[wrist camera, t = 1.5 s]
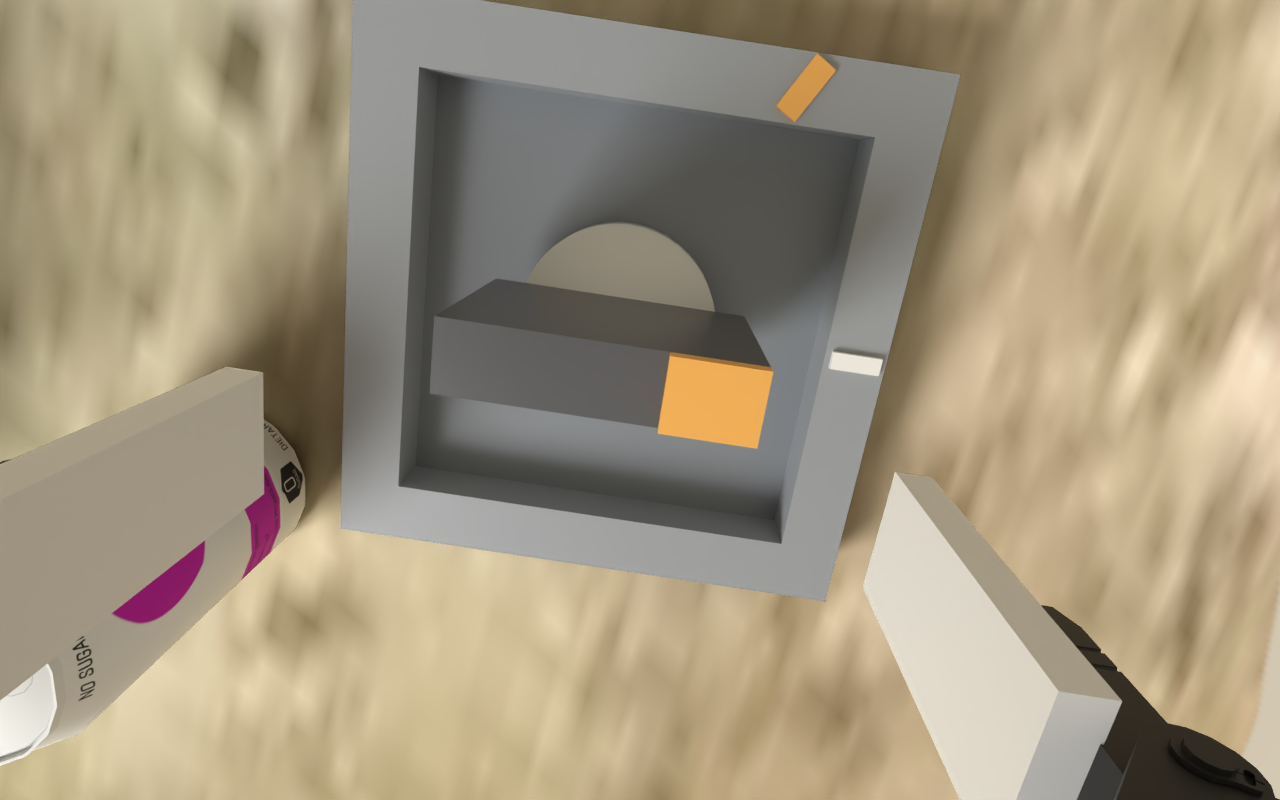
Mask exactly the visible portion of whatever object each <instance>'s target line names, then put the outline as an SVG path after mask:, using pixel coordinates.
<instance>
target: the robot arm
mask: <svg viewBox="0 0 1280 800" xmlns="http://www.w3.org/2000/svg"><path fill="white" fill-rule="evenodd" d="M263 494H264V408H263V372H258V371H251V370H245V369H239V368H232V367H224V368H222V369H219V370H217V371H215V372H212V373H210V374H208V375H206V376H203V377H201V378H199V379H196V380H194V381H192V382H189V383H187V384H185V385H182V386H180V387H178V388H175V389H173V390H171V391H169V392H166V393H164V394H162V395H159V396H157V397H155V398H152V399H150V400H148V401H145V402H143V403H141V404H138V405H136V406H134V407H132V408H129V409H127V410H125V411H122V412H120V413H118V414H115V415H113V416H111V417H108V418H106V419H104V420H101V421H99V422H97V423H94V424H92V425H90V426H88V427H85V428H83V429H81V430H78V431H76V432H74V433H71V434H69V435H67V436H64V437H62V438H60V439H57V440H55V441H53V442H51V443H48V444H46V445H44V446H41V447H39V448H37V449H34V450H32V451H30V452H27V453H25V454H23V455H20V456H18V457H16V458H14V459H10V460H6V461H2V462H0V700H2V699H3V698H4V697H5V696H7V695H8V694H9V693H11V692H12V691H13V690H14V689H16V688H17V687H18V686H20V685H21V684H22V683H23V682H25V681H26V680H27V679H28V678H30V677H31V676H32V675H34V674H35V673H36V672H37V671H39V670H40V669H41V668H42V667H44V666H45V665H46V664H48V663H49V662H50V661H51V660H53V659H54V658H55V657H57V656H58V655H59V654H60V653H62V652H63V651H64V650H65V649H67V648H68V647H69V646H71V645H72V644H73V643H74V642H76V641H77V640H78V639H80V638H81V637H82V636H83V635H85V634H86V633H87V632H88V631H90V630H91V629H92V628H94V627H95V626H96V625H97V624H99V623H100V622H101V621H102V620H104V619H105V618H106V617H108V616H109V615H110V614H111V613H113V612H114V611H115V610H117V609H118V608H119V607H120V606H122V605H123V604H124V603H125V602H127V601H128V600H129V599H131V598H132V597H133V596H134V595H136V594H137V593H138V592H139V591H141V590H142V589H143V588H145V587H146V586H147V585H148V584H150V583H151V582H152V581H154V580H155V579H156V578H157V577H159V576H160V575H161V574H162V573H164V572H165V571H166V570H168V569H169V568H170V567H171V566H173V565H174V564H175V563H177V562H178V561H179V560H180V559H182V558H183V557H184V556H185V555H187V554H188V553H189V552H191V551H192V550H193V549H194V548H196V547H197V546H198V545H199V544H201V543H202V542H203V541H205V540H206V539H207V538H208V537H210V536H211V535H212V534H214V533H215V532H216V531H217V530H219V529H220V528H221V527H222V526H224V525H225V524H226V523H228V522H229V521H230V520H231V519H233V518H234V517H235V516H236V515H238V514H239V513H240V512H242V511H243V510H244V509H245V508H247V507H248V506H249V505H251V504H252V503H253V502H254V501H256V500H257V499H258V498H259V497H261V496H262V495H263ZM863 589H864V591H865V593H866V596H867V598H868V600H869V602H870V604H871V607H872V609H873V611H874V613H875V615H876V618H877V620H878V622H879V624H880V626H881V628H882V631H883V633H884V635H885V637H886V639H887V642H888V644H889V646H890V648H891V650H892V652H893V655H894V657H895V659H896V661H897V663H898V666H899V668H900V670H901V672H902V674H903V677H904V679H905V681H906V683H907V685H908V687H909V690H910V692H911V694H912V696H913V698H914V701H915V703H916V705H917V707H918V709H919V711H920V714H921V716H922V718H923V720H924V722H925V725H926V727H927V729H928V731H929V733H930V736H931V738H932V740H933V742H934V744H935V746H936V749H937V751H938V753H939V755H940V757H941V760H942V762H943V764H944V766H945V768H946V770H947V773H948V775H949V777H950V779H951V781H952V784H953V786H954V788H955V790H956V792H957V795H958V797H959V799H960V800H1279V799H1277V798H1275V796H1274V793H1273V790H1272V787H1271V785H1270V784H1269V782H1268V781H1267V780H1266V779H1265V778H1264V777H1263V775H1262V774H1261V773H1260V772H1259V771H1258V770H1257V769H1256V768H1255V767H1254V766H1253V765H1252V764H1250V763H1249V762H1248V761H1246V760H1245V759H1244V758H1243V757H1241V756H1240V755H1239V754H1238V753H1236V752H1235V751H1233V750H1231V749H1230V748H1228V747H1226V746H1224V745H1223V744H1221V743H1219V742H1218V741H1216V740H1214V739H1212V738H1211V737H1208V736H1206V735H1203V734H1201V733H1198V732H1196V731H1194V730H1191V729H1189V728H1186V727H1181V726H1177V725H1172V724H1168V723H1167V722H1166V721H1165V720H1164V719H1163V718H1162V717H1161V716H1160V715H1159V714H1158V712H1157V711H1156V710H1155V709H1154V708H1153V707H1152V706H1151V705H1150V704H1149V702H1148V701H1147V700H1146V699H1145V698H1144V697H1143V696H1142V695H1141V693H1140V692H1139V691H1138V690H1137V689H1136V688H1135V687H1134V686H1133V685H1132V683H1131V682H1130V681H1129V680H1128V679H1127V678H1126V677H1125V676H1124V675H1123V673H1122V672H1118V671H1117V667H1116V666H1115V665H1114V663H1113V662H1112V661H1111V660H1110V659H1109V658H1108V657H1107V656H1106V655H1105V654H1103V653H1101V649H1100V648H1099V647H1098V646H1097V645H1096V643H1095V642H1094V641H1093V640H1092V639H1091V638H1090V637H1089V636H1088V634H1087V633H1086V632H1085V631H1084V630H1083V629H1082V628H1081V627H1080V626H1078V625H1077V624H1075V623H1074V622H1073V621H1071V620H1070V619H1068V618H1067V617H1066V616H1064V615H1063V614H1061V613H1060V612H1059V611H1057V610H1056V609H1054V608H1053V607H1049V606H1042V605H1040V604H1039V603H1038V602H1037V600H1036V599H1035V598H1034V597H1033V596H1032V594H1031V593H1030V592H1029V591H1028V590H1027V589H1026V587H1025V586H1024V585H1023V584H1022V583H1021V582H1020V580H1019V579H1018V578H1017V577H1016V576H1015V574H1014V573H1013V572H1012V571H1011V570H1010V569H1009V567H1008V566H1007V565H1006V564H1005V563H1004V562H1003V560H1002V559H1001V558H1000V557H999V556H998V554H997V553H996V552H995V551H994V550H993V549H992V547H991V546H990V545H989V544H988V543H987V542H986V540H985V539H984V538H983V537H982V536H981V535H980V533H979V532H978V531H977V530H976V529H975V527H974V526H973V525H972V524H971V523H970V522H969V520H968V519H967V518H966V517H965V516H964V515H963V513H962V512H961V511H960V510H959V509H958V507H957V506H956V505H955V504H954V503H953V502H952V500H951V499H950V498H949V497H948V496H947V495H946V493H945V492H944V491H943V490H942V489H941V487H940V486H939V485H938V484H937V483H936V482H935V480H934V479H933V478H932V477H926V476H920V475H913V474H907V473H900V472H895V474H894V478H893V481H892V485H891V489H890V492H889V496H888V499H887V503H886V506H885V510H884V514H883V517H882V521H881V524H880V528H879V531H878V535H877V539H876V542H875V546H874V549H873V553H872V557H871V560H870V564H869V567H868V571H867V574H866V578H865V582H864V585H863Z"/></svg>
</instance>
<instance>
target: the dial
mask: <svg viewBox="0 0 1280 800" xmlns="http://www.w3.org/2000/svg"><path fill="white" fill-rule="evenodd" d="M772 377H773V370H772V368H771V366H770V364H769V362H768V360H767V358H766V356H765V355H764V353H763V351H762V349H761V347H760V345H759V343H758V341H757V339H756V337H755V335H754V334H753V332H752V330H751V328H750V326H749V324H748V322H747V320H746V318H745V316H740V315H733V314H727V313H720V312H715V309H714V303H713V300H712V296H711V293H710V290H709V287H708V284H707V281H706V279H705V277H704V275H703V272H702V271H701V269H700V267H699V266H698V264H697V263H696V261H695V260H694V259H693V257H692V256H691V255H690V254H689V253H688V251H687V250H686V249H684V248H683V247H682V246H681V245H680V244H679V243H678V242H676V241H675V240H674V239H672V238H671V237H669V236H668V235H666V234H664V233H662V232H660V231H658V230H656V229H654V228H651V227H648V226H645V225H641V224H637V223H631V222H606V223H601V224H596V225H592V226H589V227H586V228H583V229H581V230H579V231H577V232H575V233H573V234H571V235H570V236H568V237H567V238H565V239H564V240H562V241H561V242H559V243H558V244H556V245H555V246H554V247H552V248H551V249H550V250H549V251H548V252H547V253H546V254H545V255H544V256H543V257H542V258H541V259H540V261H539V262H538V263H537V264H536V266H535V267H534V269H533V270H532V272H531V274H530V275H529V277H528V280H527V282H526V283H523V282H517V281H510V280H504V279H497V278H496V279H494V280H493V281H491V282H490V283H488V284H486V285H485V286H483V287H481V288H480V289H478V290H476V291H475V292H473V293H471V294H470V295H468V296H467V297H465V298H463V299H462V300H460V301H458V302H457V303H455V304H453V305H452V306H450V307H448V308H447V309H445V310H443V311H442V312H440V313H439V314H437V315H435V316H434V328H433V344H432V361H431V377H430V393H429V394H436V395H442V396H449V397H456V398H462V399H469V400H475V401H482V402H489V403H495V404H502V405H508V406H515V407H522V408H528V409H535V410H542V411H548V412H555V413H561V414H568V415H575V416H581V417H588V418H594V419H601V420H608V421H614V422H621V423H628V424H634V425H641V426H647V427H654V428H658V434H663V435H669V436H676V437H683V438H689V439H696V440H702V441H709V442H716V443H722V444H729V445H736V446H742V447H749V448H755V449H757V448H758V443H759V439H760V434H761V429H762V424H763V420H764V415H765V410H766V405H767V400H768V396H769V391H770V386H771V381H772Z"/></svg>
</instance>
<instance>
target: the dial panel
mask: <svg viewBox="0 0 1280 800" xmlns="http://www.w3.org/2000/svg"><path fill="white" fill-rule="evenodd" d="M960 76H961V75H960V74H954V73H947V72H941V71H934V70H928V69H922V68H915V67H909V66H902V65H896V64H889V63H883V62H876V61H870V60H863V59H857V58H851V57H844V56H838V55H831V54H825V53H818V52H812V51H805V50H799V49H792V48H786V47H780V46H773V45H767V44H760V43H754V42H747V41H741V40H734V39H728V38H721V37H715V36H709V35H702V34H696V33H689V32H683V31H676V30H670V29H663V28H657V27H650V26H644V25H638V24H631V23H625V22H618V21H612V20H605V19H599V18H592V17H586V16H579V15H573V14H567V13H560V12H554V11H547V10H541V9H534V8H528V7H521V6H515V5H508V4H502V3H496V2H489V1H483V0H353V17H352V59H351V102H350V144H349V187H348V229H347V272H346V314H345V357H344V399H343V442H342V484H341V527H340V529H346V530H353V531H360V532H366V533H373V534H380V535H386V536H393V537H400V538H406V539H413V540H420V541H426V542H433V543H440V544H446V545H453V546H460V547H466V548H473V549H480V550H487V551H493V552H500V553H507V554H513V555H520V556H527V557H533V558H540V559H547V560H553V561H560V562H567V563H573V564H580V565H587V566H593V567H600V568H607V569H613V570H620V571H627V572H633V573H640V574H647V575H653V576H660V577H667V578H673V579H680V580H687V581H693V582H700V583H707V584H713V585H720V586H727V587H733V588H740V589H747V590H753V591H760V592H767V593H773V594H780V595H787V596H794V597H800V598H807V599H814V600H820V601H825V600H826V596H827V592H828V588H829V584H830V580H831V577H832V573H833V569H834V565H835V561H836V557H837V553H838V549H839V545H840V542H841V538H842V534H843V530H844V526H845V522H846V518H847V514H848V511H849V507H850V503H851V499H852V495H853V491H854V487H855V483H856V479H857V476H858V472H859V468H860V464H861V460H862V456H863V452H864V448H865V444H866V441H867V437H868V433H869V429H870V425H871V421H872V417H873V413H874V410H875V406H876V402H877V398H878V394H879V390H880V386H881V382H882V378H883V375H884V371H885V367H886V363H887V359H888V355H889V351H890V347H891V344H892V340H893V336H894V332H895V328H896V324H897V320H898V316H899V312H900V309H901V305H902V301H903V297H904V293H905V289H906V285H907V281H908V278H909V274H910V270H911V266H912V262H913V258H914V254H915V250H916V246H917V243H918V239H919V235H920V231H921V227H922V223H923V219H924V215H925V212H926V208H927V204H928V200H929V196H930V192H931V188H932V184H933V180H934V177H935V173H936V169H937V165H938V161H939V157H940V153H941V149H942V145H943V142H944V138H945V134H946V130H947V126H948V122H949V118H950V114H951V111H952V107H953V103H954V99H955V95H956V91H957V87H958V83H959V79H960ZM606 222H631V223H637V224H641V225H645V226H648V227H651V228H654V229H656V230H658V231H660V232H662V233H664V234H666V235H668V236H669V237H671V238H672V239H674V240H675V241H676V242H678V243H679V244H680V245H681V246H682V247H683V248H684V249H686V250H687V251H688V253H689V254H690V255H691V256H692V257H693V259H694V260H695V261H696V263H697V264H698V266H699V267H700V269H701V271H702V272H703V275H704V277H705V279H706V281H707V284H708V287H709V290H710V293H711V296H712V300H713V303H714V309H715V312H720V313H727V314H733V315H740V316H745V318H746V320H747V322H748V324H749V326H750V328H751V330H752V332H753V334H754V335H755V337H756V339H757V341H758V343H759V345H760V347H761V349H762V351H763V353H764V355H765V356H766V358H767V360H768V362H769V364H770V366H771V368H772V370H773V377H772V381H771V386H770V391H769V396H768V400H767V405H766V410H765V415H764V420H763V424H762V429H761V434H760V439H759V443H758V448H757V449H755V448H749V447H742V446H736V445H729V444H722V443H716V442H709V441H702V440H696V439H689V438H683V437H676V436H669V435H663V434H658V428H654V427H647V426H641V425H634V424H628V423H621V422H614V421H608V420H601V419H594V418H588V417H581V416H575V415H568V414H561V413H555V412H548V411H542V410H535V409H528V408H522V407H515V406H508V405H502V404H495V403H489V402H482V401H475V400H469V399H462V398H456V397H449V396H442V395H436V394H429V393H430V377H431V361H432V344H433V328H434V316H435V315H437V314H439V313H440V312H442V311H443V310H445V309H447V308H448V307H450V306H452V305H453V304H455V303H457V302H458V301H460V300H462V299H463V298H465V297H467V296H468V295H470V294H471V293H473V292H475V291H476V290H478V289H480V288H481V287H483V286H485V285H486V284H488V283H490V282H491V281H493V280H494V279H496V278H497V279H504V280H510V281H517V282H523V283H526V282H527V280H528V277H529V275H530V274H531V272H532V270H533V269H534V267H535V266H536V264H537V263H538V262H539V261H540V259H541V258H542V257H543V256H544V255H545V254H546V253H547V252H548V251H549V250H550V249H551V248H552V247H554V246H555V245H556V244H558V243H559V242H561V241H562V240H564V239H565V238H567V237H568V236H570V235H571V234H573V233H575V232H577V231H579V230H581V229H583V228H586V227H589V226H592V225H596V224H601V223H606Z"/></svg>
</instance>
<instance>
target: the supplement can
mask: <svg viewBox="0 0 1280 800" xmlns="http://www.w3.org/2000/svg"><path fill="white" fill-rule="evenodd" d="M304 507H305V476H304V474H303V471H302V469H301V466H300V464H299V461H298V459H297V456H296V453H295V451H294V449H293V448H292V447H291V446H290V445H289V443H288V442H287V441H286V440H285V438H284V437H283V436H282V435H281V434H280V432H279V431H278V430H277V429H276V428H275V426H273V425H272V424H270V423H269V422H267V421H266V420H264V494H263V495H262V496H261V497H259V498H258V499H257V500H256V501H254V502H253V503H252V504H251V505H249V506H248V507H247V508H245V509H244V510H243V511H242V512H240V513H239V514H238V515H236V516H235V517H234V518H233V519H231V520H230V521H229V522H228V523H226V524H225V525H224V526H222V527H221V528H220V529H219V530H217V531H216V532H215V533H214V534H212V535H211V536H210V537H208V538H207V539H206V540H205V541H203V542H202V543H201V544H199V545H198V546H197V547H196V548H194V549H193V550H192V551H191V552H189V553H188V554H187V555H185V556H184V557H183V558H182V559H180V560H179V561H178V562H177V563H175V564H174V565H173V566H171V567H170V568H169V569H168V570H166V571H165V572H164V573H162V574H161V575H160V576H159V577H157V578H156V579H155V580H154V581H152V582H151V583H150V584H148V585H147V586H146V587H145V588H143V589H142V590H141V591H139V592H138V593H137V594H136V595H134V596H133V597H132V598H131V599H129V600H128V601H127V602H125V603H124V604H123V605H122V606H120V607H119V608H118V609H117V610H115V611H114V612H113V613H111V614H110V615H109V616H108V617H106V618H105V619H104V620H102V621H101V622H100V623H99V624H97V625H96V626H95V627H94V628H92V629H91V630H90V631H88V632H87V633H86V634H85V635H83V636H82V637H81V638H80V639H78V640H77V641H76V642H74V643H73V644H72V645H71V646H69V647H68V648H67V649H65V650H64V651H63V652H62V653H60V654H59V655H58V656H57V657H55V658H54V659H53V660H51V661H50V662H49V663H48V664H46V665H45V666H44V667H42V668H41V669H40V670H39V671H37V672H36V673H35V674H34V675H32V676H31V677H30V678H28V679H27V680H26V681H25V682H23V683H22V684H21V685H20V686H18V687H17V688H16V689H14V690H13V691H12V692H11V693H9V694H8V695H7V696H5V697H4V698H3V699H2V700H0V766H1V765H3V764H6V763H9V762H12V761H14V760H17V759H20V758H23V757H25V756H27V755H28V754H29V753H31V752H32V751H33V750H36V749H39V748H42V747H45V746H48V745H50V744H53V743H56V742H59V741H61V740H64V739H67V738H70V737H72V736H75V735H78V734H80V733H81V732H82V731H83V730H84V729H85V728H86V727H87V726H88V725H89V724H91V723H92V722H93V721H94V720H95V719H96V718H97V717H98V716H99V715H100V714H101V713H102V712H103V711H104V710H105V709H106V708H107V707H108V706H109V705H110V704H112V703H113V702H114V701H115V700H116V699H117V698H118V697H119V696H120V695H121V694H122V693H123V692H124V691H125V690H126V689H127V688H128V687H129V686H130V685H132V684H133V683H134V682H135V681H136V680H137V679H138V678H139V677H140V676H141V675H142V674H143V673H144V672H145V671H146V670H147V669H148V668H149V667H150V666H151V665H153V664H154V663H155V662H156V661H157V660H158V659H159V658H160V657H161V656H162V655H163V654H164V653H165V652H166V651H167V650H168V649H169V648H170V647H171V646H173V645H174V644H175V643H176V642H177V641H178V640H179V639H180V638H181V637H182V636H183V635H184V634H185V633H186V632H187V631H188V630H189V629H190V628H191V627H192V626H194V625H195V624H196V623H197V622H198V621H199V620H200V619H201V618H202V617H203V616H204V615H205V614H206V613H207V612H208V611H209V610H210V609H211V608H212V607H214V606H215V605H216V604H217V603H218V602H219V601H220V600H221V599H222V598H223V597H224V596H225V595H226V594H227V593H228V592H229V591H230V590H231V589H232V588H233V587H235V586H236V585H237V584H238V583H239V582H240V581H241V580H242V579H243V578H244V577H245V576H246V575H247V574H248V573H249V572H250V571H251V570H252V569H253V568H255V567H256V566H257V565H258V564H259V563H260V562H261V561H262V560H263V559H264V558H265V557H266V556H267V555H268V554H269V553H270V552H271V551H272V550H273V549H274V548H276V547H277V546H278V545H279V544H280V543H281V542H282V541H283V540H284V539H285V538H286V537H287V536H288V535H289V534H290V533H291V532H292V531H293V530H294V529H295V528H296V526H297V524H298V522H299V519H300V517H301V514H302V512H303V509H304Z"/></svg>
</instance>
